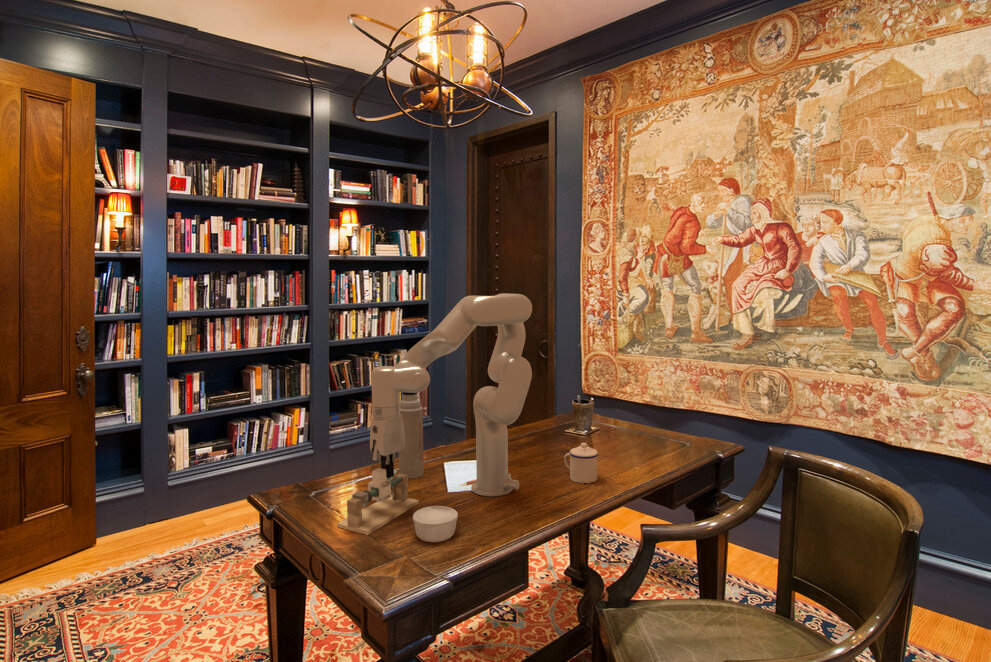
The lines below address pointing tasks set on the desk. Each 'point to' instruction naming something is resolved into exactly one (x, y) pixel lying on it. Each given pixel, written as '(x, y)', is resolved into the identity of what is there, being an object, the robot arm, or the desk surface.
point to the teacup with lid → (582, 464)
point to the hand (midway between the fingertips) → (387, 476)
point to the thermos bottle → (411, 436)
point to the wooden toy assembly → (377, 507)
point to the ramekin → (435, 523)
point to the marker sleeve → (380, 485)
